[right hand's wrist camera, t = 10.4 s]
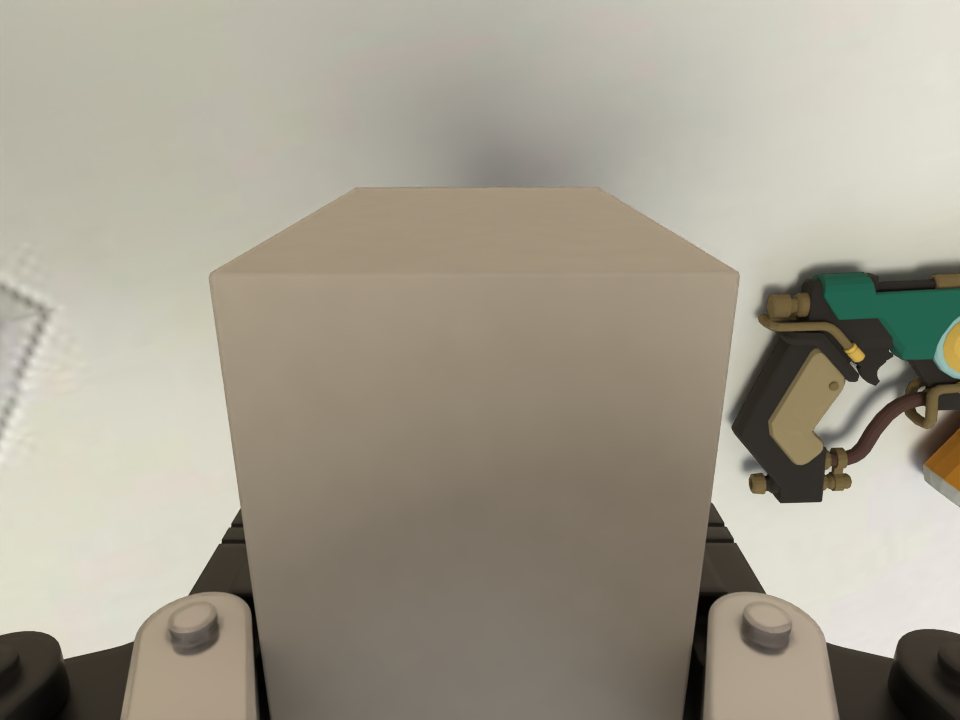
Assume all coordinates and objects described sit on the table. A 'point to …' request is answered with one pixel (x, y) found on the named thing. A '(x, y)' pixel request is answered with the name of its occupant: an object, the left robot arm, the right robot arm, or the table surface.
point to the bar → (475, 452)
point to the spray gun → (851, 377)
